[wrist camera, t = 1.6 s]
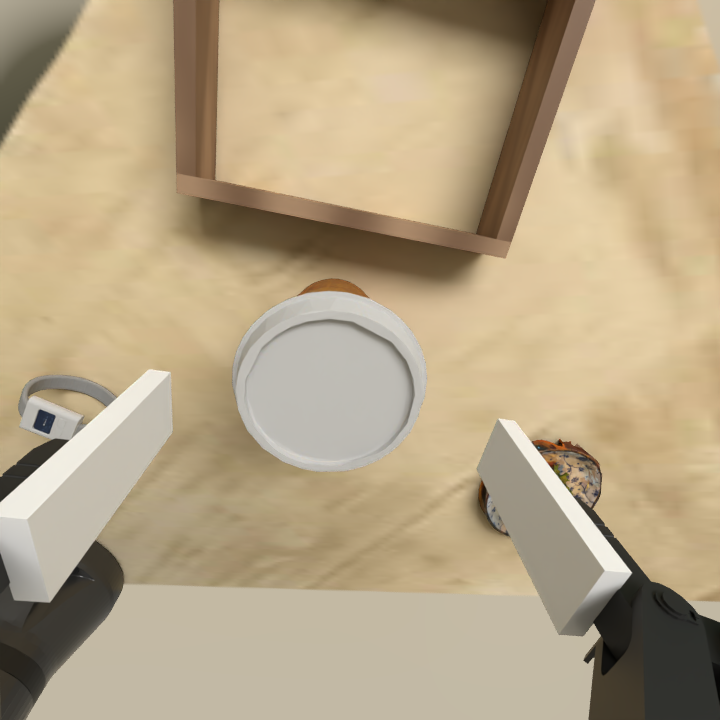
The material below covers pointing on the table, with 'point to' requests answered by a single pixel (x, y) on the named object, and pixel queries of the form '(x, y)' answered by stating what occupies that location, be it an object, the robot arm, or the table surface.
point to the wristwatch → (57, 406)
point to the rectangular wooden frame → (493, 236)
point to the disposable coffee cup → (329, 379)
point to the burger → (569, 467)
